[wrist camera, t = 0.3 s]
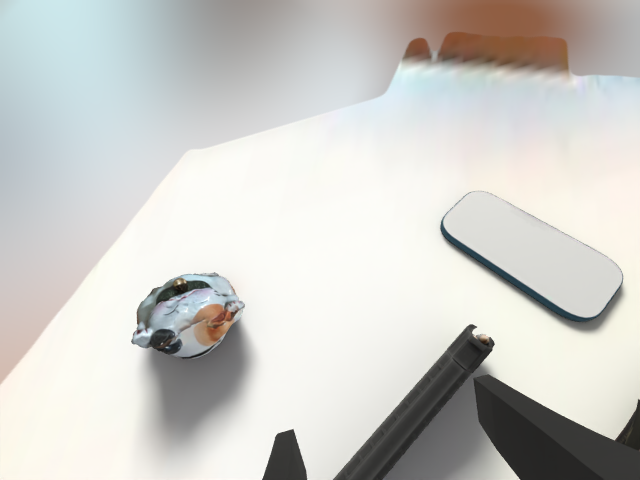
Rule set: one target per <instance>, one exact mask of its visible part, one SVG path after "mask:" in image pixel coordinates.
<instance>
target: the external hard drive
mask: <svg viewBox="0 0 640 480" xmlns="http://www.w3.org/2000/svg"><path fill="white" fill-rule="evenodd" d="M440 227H441V231H442V234H443V235H444V236H445V237H446V238H447V239H448V240H449V241H450V242H451V243H453V244H454V245H456V246H457V247H458V248H460V249H461V250H463V251H464V252H466V253H467V254H469V255H470V256H472V257H473V258H475V259H476V260H478V261H479V262H481V263H482V264H484V265H485V266H487V267H488V268H490V269H491V270H493V271H494V272H496V273H497V274H499V275H500V276H502V277H503V278H505V279H506V280H508V281H509V282H511V283H512V284H514V285H515V286H517V287H518V288H520V289H521V290H522V291H524V292H525V293H527V294H528V295H530V296H531V297H533V298H534V299H536V300H537V301H539V302H540V303H542V304H543V305H545V306H546V307H548V308H549V309H551V310H552V311H554V312H556V313H557V314H559V315H561V316H563V317H565V318H567V319H570V320H573V321H578V322H585V321H589V320H592V319H594V318H596V317H597V316H599V315H600V314H601V313H602V311H603V310H604V309H605V308H606V306H607V305H608V303H609V302H610V301H611V299H612V298H613V296H614V295H615V294H616V292H617V291H618V289H619V288H620V286H621V284H622V282H623V274H622V271H621V269H620V268H619V267H618V266H617V264H615V263H614V262H613V261H612V260H611V259H609V258H608V257H607V256H605V255H603V254H601V253H600V252H598V251H596V250H594V249H592V248H591V247H589V246H587V245H585V244H583V243H581V242H580V241H578V240H576V239H574V238H572V237H570V236H569V235H567V234H565V233H563V232H561V231H559V230H558V229H556V228H554V227H552V226H550V225H548V224H547V223H545V222H543V221H541V220H539V219H537V218H536V217H534V216H532V215H530V214H528V213H526V212H525V211H523V210H521V209H519V208H517V207H515V206H513V205H512V204H510V203H508V202H506V201H504V200H502V199H501V198H499V197H497V196H495V195H493V194H490V193H488V192H484V191H473V192H470V193H468V194H466V195H465V196H464V197H463V198H462V199H461V200H460V201H459V202H458V203H457V204H456V205H455V206H454V207H453V208H452V209H451V210H450V211H449V212H447V213H446V215H445V216H444V217H443V219H442V221H441V226H440ZM555 304H556V305H555Z"/></svg>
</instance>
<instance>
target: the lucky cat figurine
mask: <svg viewBox="0 0 640 480" xmlns="http://www.w3.org/2000/svg"><path fill="white" fill-rule="evenodd" d="M244 307H245V304H244V303H243V302H242V301H239V298H238V297H237V296H236V294H235V291H234V289H233V287H232V286H231V284H230V283H229V281H228V280H227V279H226V278H224V277H221V276H219V275H218V274H217V273H215V272H214V273H210V274H207V273H203V274H200V275H199V274H193V275H192V274H186V275H182V276H179V277H176V278H174V279H171V280H169V281H168V282H167V283H166V284H165V285H164V286H163V287H157V288H154V289H153V290H152V292H151V293H150V294H149V295H148V296H147V298H146V299H145V300H144V301H142V302H141V304H140V305H139V307H138V310H137V324H138V327H137V330H136V331H135V332H134V334H133V339H132V341H131V342H132V344H137V345H139V346H140V347H143V348H149V347H151V346H152V347H153V348H154V349H157V350H158V351H161V352H164V353H166V354H169V355H172V356H174V357H179V358H182V359H192V358H198V357H201V356H203V355H205V354H207V353H209V352H210V351H212V350H213V349H214V348H215V347H216V346H218V345H219V344H220V343H221V341H222V340H223V338H224V336H225V334H226V333H227V331H228V329H229V328H230V326H231V325H232V324H233V323H234V322H236V321H237V320H239V319H240V317H241V315H242V312H243V309H244Z"/></svg>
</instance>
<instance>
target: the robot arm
mask: <svg viewBox="0 0 640 480" xmlns="http://www.w3.org/2000/svg"><path fill="white" fill-rule="evenodd" d="M474 386H475V394H476V402H477V410H478V418H479V422H480V424H481V425H482V427H483V429H484V430H485V432H486V433H487V435H488V437H489V438H490V440H491V441H492V443H493V444H494V446H495V447H496V449H497V450H498V452H499V453H500V454H501V456H502V457H503V458H504V459H505V461H506V462H507V463H508V465H509V466H510V467H511V468H512V470H513V471H514V472H515V473H516V475H517V476H518V477H519V479H520V480H640V451H638V450H635V449H633V448H630V447H628V446H626V445H624V444H621V443H619V442H617V441H614V440H612V439H610V438H607V437H605V436H603V435H601V434H598V433H596V432H594V431H592V430H590V429H588V428H586V427H584V426H582V425H580V424H578V423H576V422H574V421H572V420H570V419H568V418H566V417H564V416H562V415H560V414H558V413H556V412H554V411H552V410H550V409H549V408H547V407H545V406H543V405H541V404H539V403H538V402H536V401H534V400H532V399H530V398H529V397H527V396H525V395H523V394H522V393H520V392H518V391H516V390H515V389H513V388H511V387H509V386H508V385H506V384H504V383H503V382H501V381H499V380H497V379H496V378H494V377H492V376H490V375H489V374H488V375H484V376H481V377H477V378H474ZM262 480H307V474H306V469H305V466H304V462H303V459H302V456H301V453H300V449H299V446H298V443H297V439H296V436H295V433H294V429H292V430H289V431H285V432H282V433H278V434H277V435H276V437H275V441H274V445H273V448H272V452H271V455H270V458H269V461H268V464H267V467H266V470H265V473H264V476H263V479H262Z"/></svg>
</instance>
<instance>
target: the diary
mask: <svg viewBox="0 0 640 480" xmlns="http://www.w3.org/2000/svg"><path fill="white" fill-rule="evenodd" d="M615 441H617V442H619V443H621V444H624V445H626V446H628V447H630V448H633V449H635V450H638V451H640V400H639V399H638V403H637V408H636V411H635V412H634V414H633V415H632V417H631V419H630V420H629V422H628V423H627V425H626V426H625V428H624V429H623V431H622V432H621V433H620V434H619V436H618V437H617V438H616V440H615Z"/></svg>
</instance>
